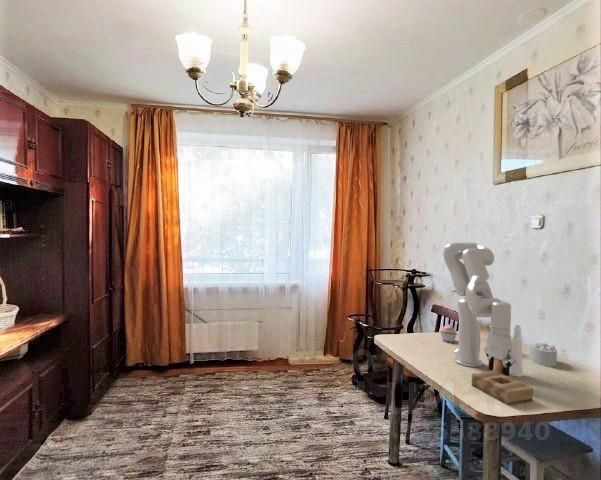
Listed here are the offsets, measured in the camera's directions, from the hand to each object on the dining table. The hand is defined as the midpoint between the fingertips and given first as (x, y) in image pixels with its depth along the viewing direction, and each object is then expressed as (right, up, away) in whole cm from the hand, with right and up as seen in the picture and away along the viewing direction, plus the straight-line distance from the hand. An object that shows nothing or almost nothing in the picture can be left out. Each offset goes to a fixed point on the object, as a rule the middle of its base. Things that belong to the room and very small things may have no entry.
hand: (498, 372), depth 162 cm
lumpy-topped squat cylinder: (+35, -4, +25) cm, 43 cm away
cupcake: (+1, -2, +58) cm, 58 cm away
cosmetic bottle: (+12, -4, +8) cm, 15 cm away
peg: (0, -4, 0) cm, 4 cm away
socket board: (-6, -4, -12) cm, 14 cm away
